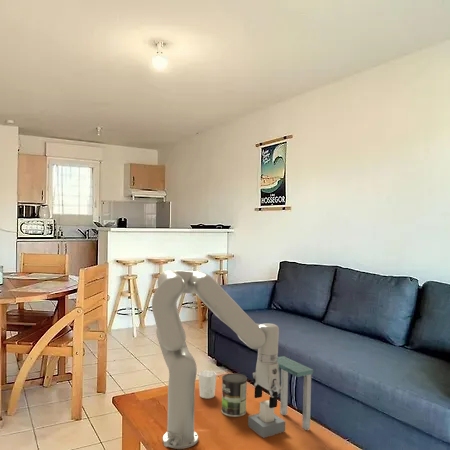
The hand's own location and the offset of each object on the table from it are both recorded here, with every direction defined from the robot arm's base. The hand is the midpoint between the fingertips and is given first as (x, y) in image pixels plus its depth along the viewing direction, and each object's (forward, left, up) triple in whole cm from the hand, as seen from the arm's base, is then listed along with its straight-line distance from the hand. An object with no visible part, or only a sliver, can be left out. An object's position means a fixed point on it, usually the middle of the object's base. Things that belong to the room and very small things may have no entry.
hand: (265, 402), depth 163 cm
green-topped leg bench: (+8, -8, -10) cm, 15 cm away
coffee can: (+10, +15, -11) cm, 21 cm away
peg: (0, -1, -10) cm, 10 cm away
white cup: (+21, +31, -11) cm, 39 cm away
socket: (0, -1, -10) cm, 10 cm away
